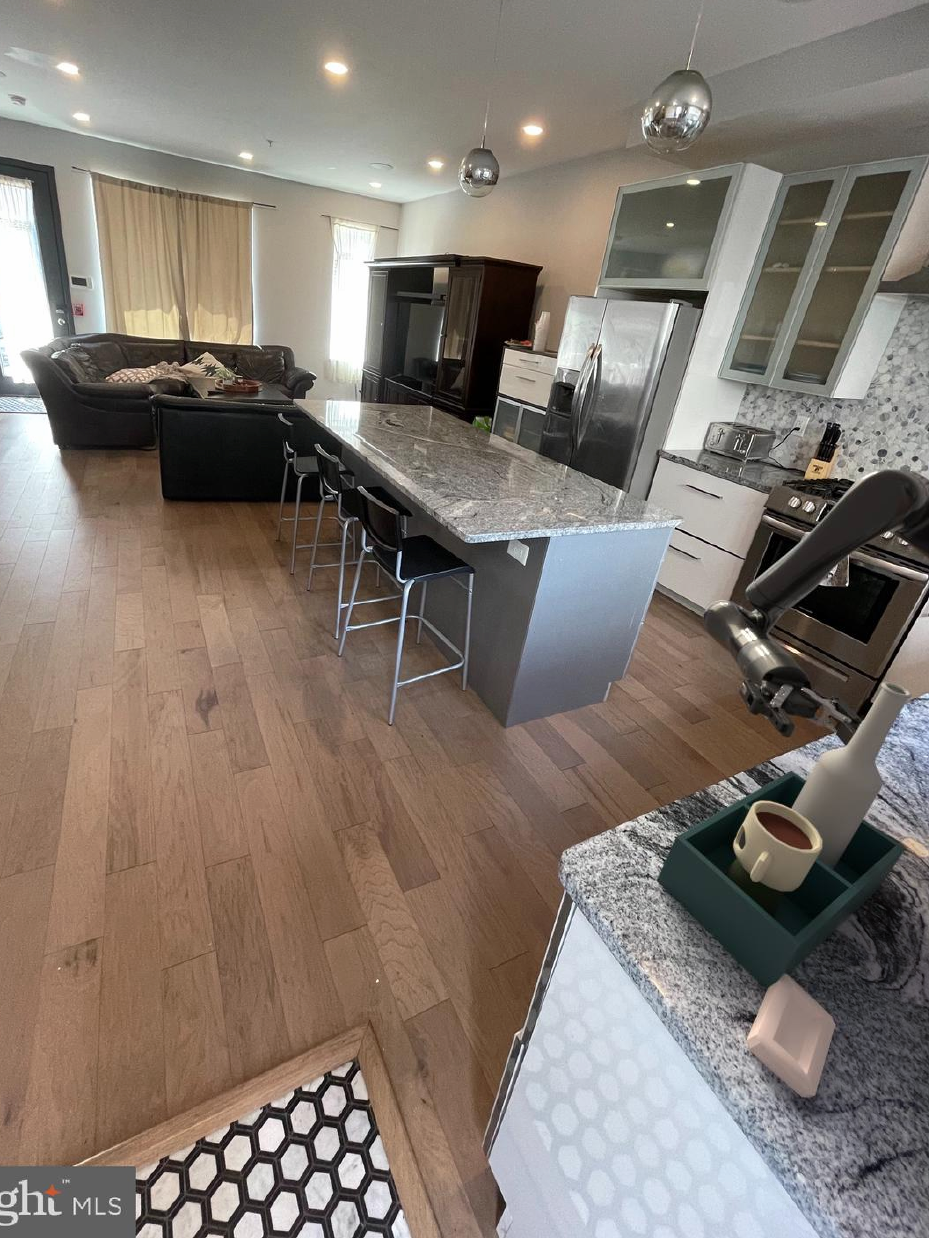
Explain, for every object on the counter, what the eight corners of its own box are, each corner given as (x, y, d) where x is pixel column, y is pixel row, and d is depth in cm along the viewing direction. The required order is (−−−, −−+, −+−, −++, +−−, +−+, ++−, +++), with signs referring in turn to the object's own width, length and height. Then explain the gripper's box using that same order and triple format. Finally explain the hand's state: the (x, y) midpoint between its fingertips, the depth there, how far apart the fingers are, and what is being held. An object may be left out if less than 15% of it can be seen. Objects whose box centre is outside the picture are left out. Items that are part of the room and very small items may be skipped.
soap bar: (822, 1028, 56) (838, 1019, 55) (799, 1106, 50) (816, 1098, 49) (771, 978, 59) (785, 968, 57) (742, 1045, 53) (757, 1036, 51)
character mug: (730, 859, 72) (768, 784, 67) (789, 901, 67) (835, 824, 62) (695, 906, 65) (734, 826, 60) (758, 957, 60) (807, 875, 55)
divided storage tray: (771, 808, 82) (791, 770, 80) (878, 888, 72) (906, 848, 69) (656, 879, 68) (675, 836, 65) (769, 993, 57) (798, 947, 55)
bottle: (777, 873, 71) (876, 695, 60) (764, 834, 77) (853, 665, 66) (834, 893, 70) (947, 714, 59) (817, 851, 75) (916, 682, 65)
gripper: (733, 643, 87) (778, 704, 72) (827, 661, 86) (893, 728, 71) (717, 682, 90) (757, 749, 75) (808, 701, 89) (867, 773, 74)
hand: (823, 739), depth 73 cm, fingers open, 8 cm apart
